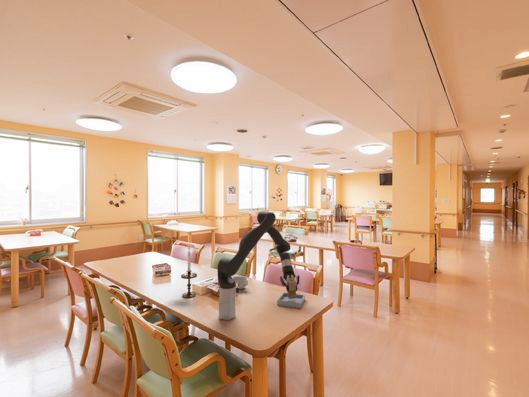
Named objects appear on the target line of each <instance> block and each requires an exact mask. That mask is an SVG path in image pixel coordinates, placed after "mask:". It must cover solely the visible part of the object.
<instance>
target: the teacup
mask: <svg viewBox="0 0 529 397" xmlns="http://www.w3.org/2000/svg"><path fill="white" fill-rule="evenodd" d="M232 278H233V279H234V280H235V282H236V283H238V284H239V289H238V290H243V289H244V288H245V287H246V286H248V285H249V280H248V278H247V277H246V276H244V275H243V276H241V275H239V276H238V275H237V276H232Z"/></svg>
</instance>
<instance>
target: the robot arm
mask: <svg viewBox="0 0 529 397" xmlns="http://www.w3.org/2000/svg"><path fill="white" fill-rule="evenodd" d="M276 218H277V217H276V214H275V212H271V211H264V210H262V211H260V212H258V214H257V216H256V219H257V222H258V224H259V225H257V226H256V227H253V228H252V229H250V230H249V231H247V232H246V233H245V234H244V235H243V236H242V238H241V239H240V241H239V243H238V244H239V245H238V251H237V252H236V253H235V255H234V256H233V257H232V258H228V257H222V258H221V259H220V260H219V261H218V263H217V270H216V271H217V282H218V284H219V285H218V286H219V291H218V292H219V293H218V294H219V296H218V297H219V300H218V319H219V320H223V321H224V320H226V321H230V320H232V319H234V318H236V316H237V315H236V310H237V309H236V306H237V305H236V304H237V303H236V295H237V293H236V290H237V289H236V283H235V280H234V279H233V277H234V276H235V275H236V274H237V273H238V271H239V270H240V268H241V267H242V265H243V263H244V262H245V260H246V259H247V257H248V255H249V254H250V253H251V251H253V249H254V248H255V247H256V246H257V244H259V241H260V240H261V239H262V238H263V236H264V235H265V234H266V232H267V234H268V235H269V236H270V238H271V240H272V241H273V243H274V245H276V246H275V249H276V250H275V251H276V252H277V254H278V256H279V258H280V263H281V264H280V266H281V271H282V275H283V276H280V277H279V281H280V283H281V285H282V286H283V287H285V290H286V292H287V291H288V292H289V286H288V280H289V278H294V280H295V281H296V292H298V290H299V288H298V285H299V284H300V275H296V274H295V271H294V266H293V263H292V260H291V256H290V253H287V252H289V251H290V250H291V245H290V243H289V242H288V240H286V239H284V237H283V235H282V234H281V232H280V231H278V229H277V228H276V227H274V226H273V225H274V223H275V222H276Z"/></svg>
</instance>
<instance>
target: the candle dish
mask: <svg viewBox="0 0 529 397" xmlns="http://www.w3.org/2000/svg"><path fill="white" fill-rule="evenodd" d="M276 301H277V303H276V304H277V306H282V307H290V308H295V307H296V308H297V309H301V308H302V307H303V304H304V302H305V301H306V295H305V294H300V293H296V298H294V299H289V298H288V297H287V292H285V291H284V292H282V294H281V295H280V296H279V297H278V298H277V300H276Z"/></svg>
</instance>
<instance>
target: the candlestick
mask: <svg viewBox="0 0 529 397" xmlns="http://www.w3.org/2000/svg"><path fill="white" fill-rule="evenodd" d="M187 248H188V251H187V270H186V272H185V273H182V274H181V275H180V278H181V279H184V280H187V284H186V286H187V291H186V292H184V293H183V294H182V296H181V297H182V298H184V299H192V298H195V297H196V292H194V291H191V288H192V287H191V286H192V283H191V279H195V278H197V277H198V274H197V272H192V271H193V270H191V261H192V260H191V250H190V246H188V247H187Z"/></svg>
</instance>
